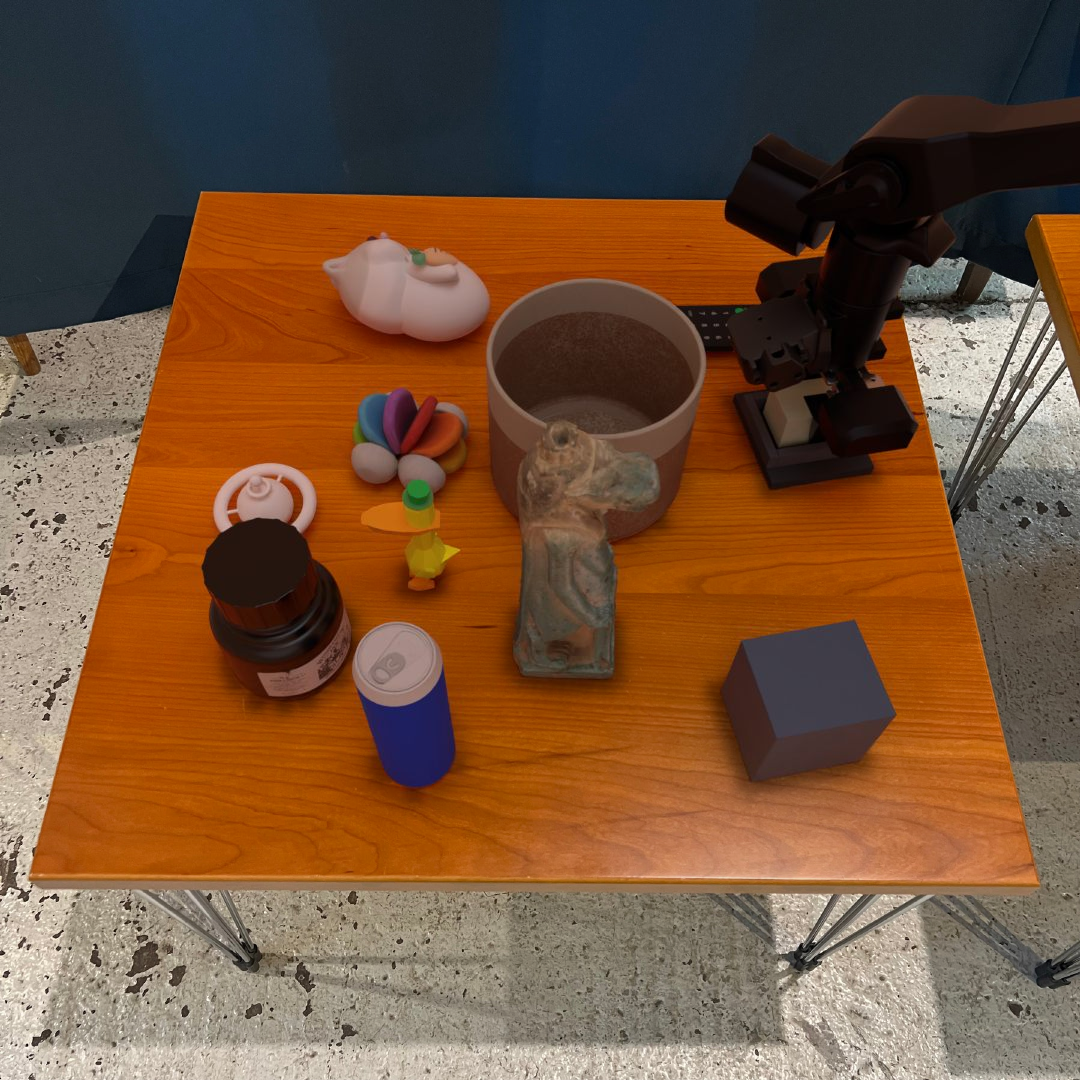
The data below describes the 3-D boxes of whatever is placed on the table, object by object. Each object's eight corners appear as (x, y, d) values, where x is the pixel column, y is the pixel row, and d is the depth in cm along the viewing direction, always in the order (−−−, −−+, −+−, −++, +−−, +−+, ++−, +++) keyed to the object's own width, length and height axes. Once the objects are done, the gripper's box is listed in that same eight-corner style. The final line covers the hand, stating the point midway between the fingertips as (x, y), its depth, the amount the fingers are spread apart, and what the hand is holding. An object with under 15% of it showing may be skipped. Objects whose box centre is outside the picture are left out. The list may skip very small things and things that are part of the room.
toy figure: (374, 600, 74) (351, 509, 64) (378, 560, 76) (356, 466, 66) (463, 599, 74) (454, 508, 64) (464, 559, 76) (455, 465, 66)
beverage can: (417, 705, 69) (394, 601, 57) (471, 749, 68) (460, 651, 55) (365, 758, 67) (330, 662, 55) (420, 805, 65) (396, 717, 53)
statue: (629, 688, 70) (676, 481, 49) (514, 693, 70) (511, 486, 49) (620, 605, 74) (659, 380, 53) (510, 609, 74) (506, 385, 53)
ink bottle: (296, 730, 68) (258, 652, 58) (201, 668, 71) (149, 584, 61) (380, 626, 73) (358, 538, 63) (289, 572, 75) (254, 479, 65)
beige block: (828, 402, 84) (839, 374, 81) (845, 438, 82) (857, 410, 79) (762, 412, 83) (771, 384, 80) (778, 448, 81) (787, 421, 78)
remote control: (515, 318, 91) (515, 307, 90) (769, 315, 92) (772, 304, 91) (516, 360, 88) (516, 349, 87) (778, 355, 89) (782, 345, 88)
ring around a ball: (313, 469, 81) (215, 487, 79) (301, 426, 76) (196, 445, 75) (326, 549, 77) (223, 569, 75) (314, 510, 72) (204, 531, 71)
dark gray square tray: (828, 386, 87) (835, 367, 85) (871, 474, 82) (880, 455, 79) (732, 400, 86) (737, 381, 84) (769, 490, 80) (776, 472, 78)
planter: (714, 509, 79) (748, 396, 68) (537, 576, 75) (540, 467, 64) (626, 377, 87) (643, 255, 76) (462, 431, 83) (453, 311, 72)
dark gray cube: (824, 671, 71) (855, 618, 65) (860, 761, 68) (897, 715, 61) (719, 690, 70) (740, 639, 64) (750, 783, 67) (776, 738, 60)
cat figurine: (498, 246, 82) (324, 208, 82) (478, 338, 82) (304, 301, 82) (499, 279, 92) (343, 245, 92) (482, 361, 92) (325, 328, 91)
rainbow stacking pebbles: (450, 511, 79) (444, 455, 73) (339, 482, 80) (324, 425, 74) (483, 433, 83) (480, 374, 77) (377, 408, 85) (366, 348, 79)
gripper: (711, 209, 73) (683, 356, 86) (797, 392, 63) (749, 527, 76) (850, 192, 74) (801, 339, 88) (955, 368, 64) (882, 505, 77)
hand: (805, 422), depth 82 cm, fingers closed on beige block, 4 cm apart
